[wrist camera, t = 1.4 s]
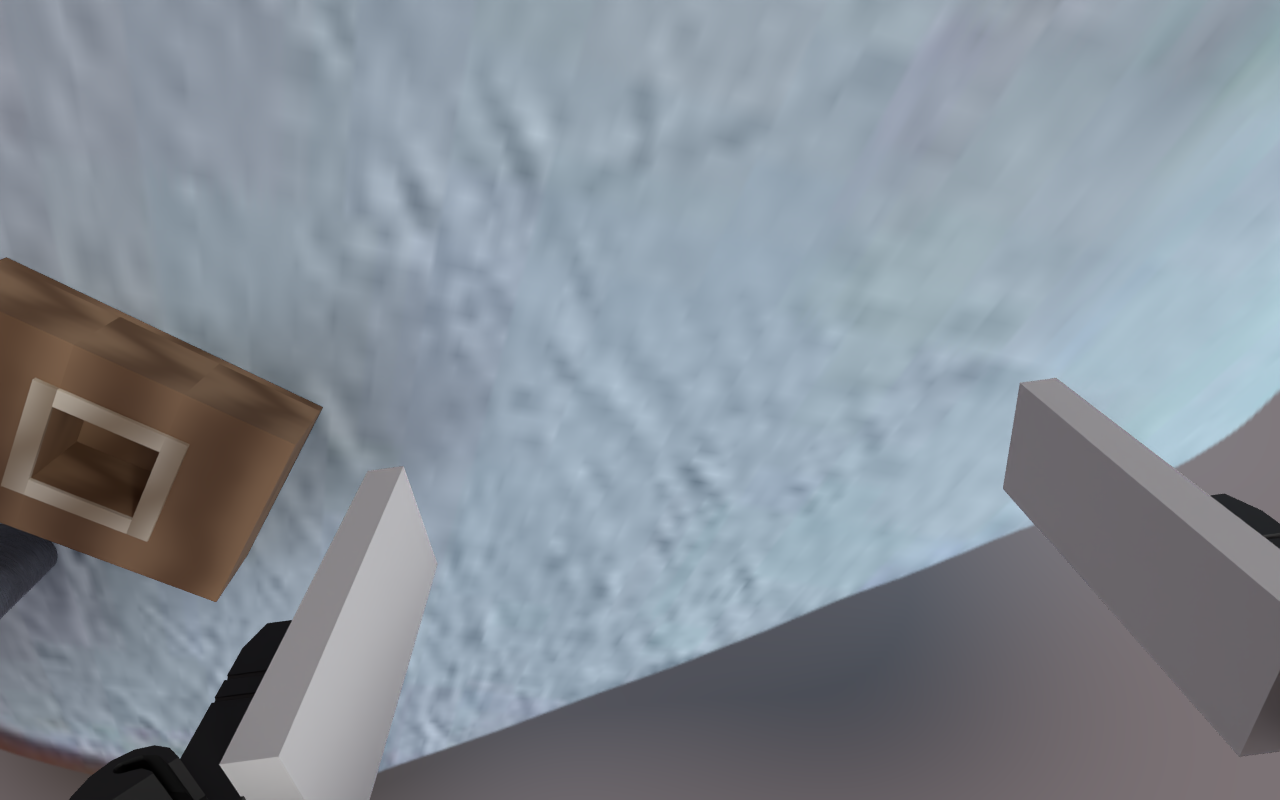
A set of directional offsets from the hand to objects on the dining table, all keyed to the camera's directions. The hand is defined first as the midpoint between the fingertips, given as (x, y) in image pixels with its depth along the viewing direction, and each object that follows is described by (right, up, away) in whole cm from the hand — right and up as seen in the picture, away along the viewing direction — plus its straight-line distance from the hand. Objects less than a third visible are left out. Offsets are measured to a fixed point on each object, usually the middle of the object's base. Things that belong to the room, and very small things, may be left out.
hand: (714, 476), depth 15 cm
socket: (-33, 0, +29) cm, 44 cm away
